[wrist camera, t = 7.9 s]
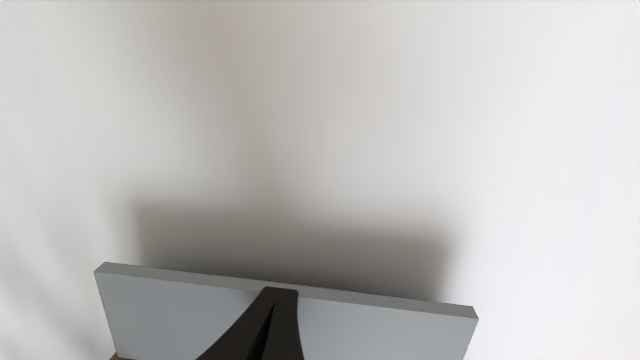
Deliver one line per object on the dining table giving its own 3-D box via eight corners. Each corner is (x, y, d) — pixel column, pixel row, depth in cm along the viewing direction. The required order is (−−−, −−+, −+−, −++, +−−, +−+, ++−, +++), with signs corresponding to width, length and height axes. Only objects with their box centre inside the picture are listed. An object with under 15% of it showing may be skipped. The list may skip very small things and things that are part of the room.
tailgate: (445, 402, 13) (478, 319, 11) (118, 357, 14) (93, 271, 12) (438, 375, 14) (466, 295, 12) (135, 334, 15) (115, 253, 13)
